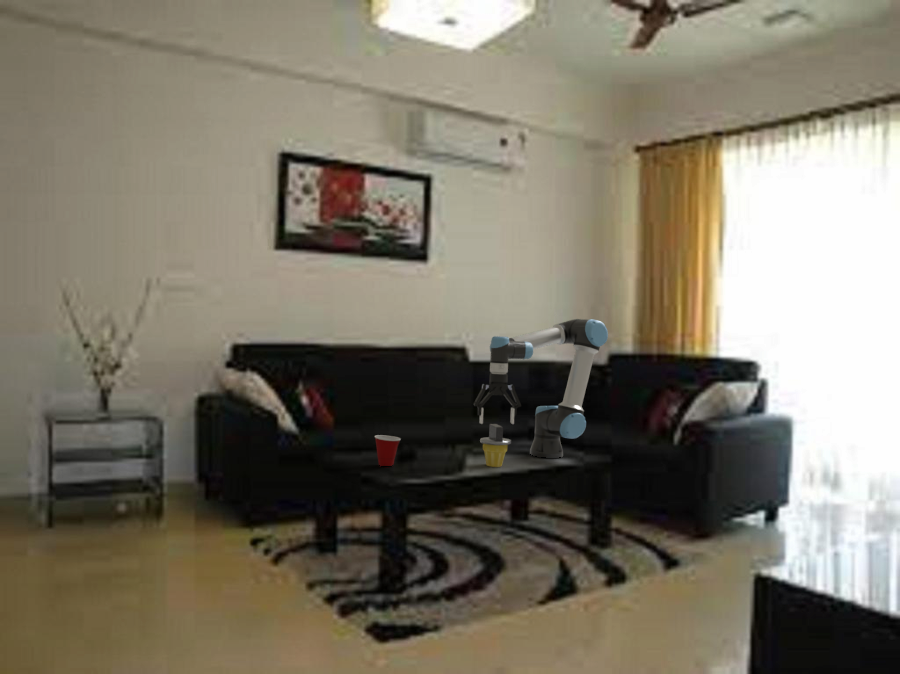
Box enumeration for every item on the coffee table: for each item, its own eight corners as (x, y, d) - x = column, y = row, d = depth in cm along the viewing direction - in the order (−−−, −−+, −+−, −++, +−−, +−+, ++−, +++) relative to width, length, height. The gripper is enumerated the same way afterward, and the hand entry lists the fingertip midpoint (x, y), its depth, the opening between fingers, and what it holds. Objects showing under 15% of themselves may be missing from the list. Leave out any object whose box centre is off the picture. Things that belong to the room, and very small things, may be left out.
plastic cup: (401, 468, 322) (402, 438, 322) (374, 468, 320) (375, 438, 320) (398, 463, 333) (399, 434, 332) (372, 463, 331) (373, 434, 331)
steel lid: (505, 440, 346) (505, 423, 346) (515, 445, 333) (516, 428, 333) (476, 440, 342) (477, 423, 342) (485, 445, 330) (486, 427, 330)
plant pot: (504, 468, 332) (505, 445, 332) (480, 466, 334) (481, 443, 334) (507, 464, 342) (509, 441, 342) (484, 462, 344) (485, 439, 344)
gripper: (472, 373, 330) (470, 424, 331) (529, 374, 336) (527, 424, 337) (467, 371, 338) (465, 421, 338) (524, 372, 343) (522, 422, 344)
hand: (496, 423), depth 338 cm, fingers open, 13 cm apart
